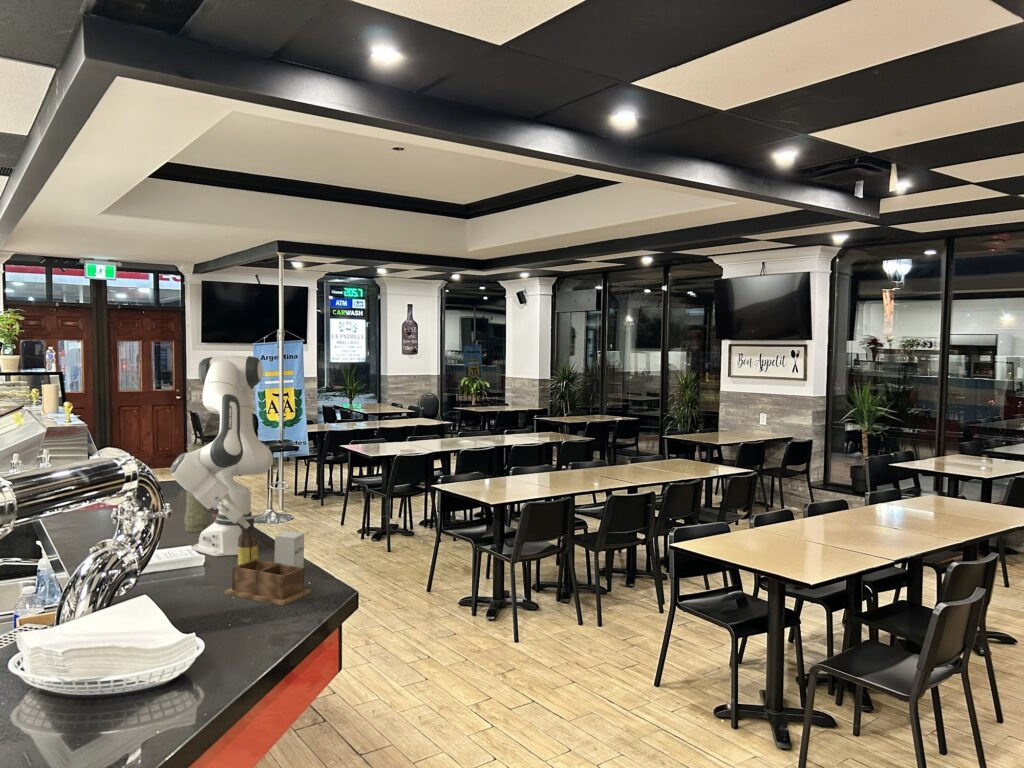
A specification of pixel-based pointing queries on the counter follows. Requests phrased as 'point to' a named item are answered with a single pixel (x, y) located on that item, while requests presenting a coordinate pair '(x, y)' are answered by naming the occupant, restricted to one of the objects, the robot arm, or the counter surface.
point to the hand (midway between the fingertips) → (246, 523)
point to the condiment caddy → (268, 582)
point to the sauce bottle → (247, 543)
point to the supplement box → (289, 549)
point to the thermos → (195, 507)
